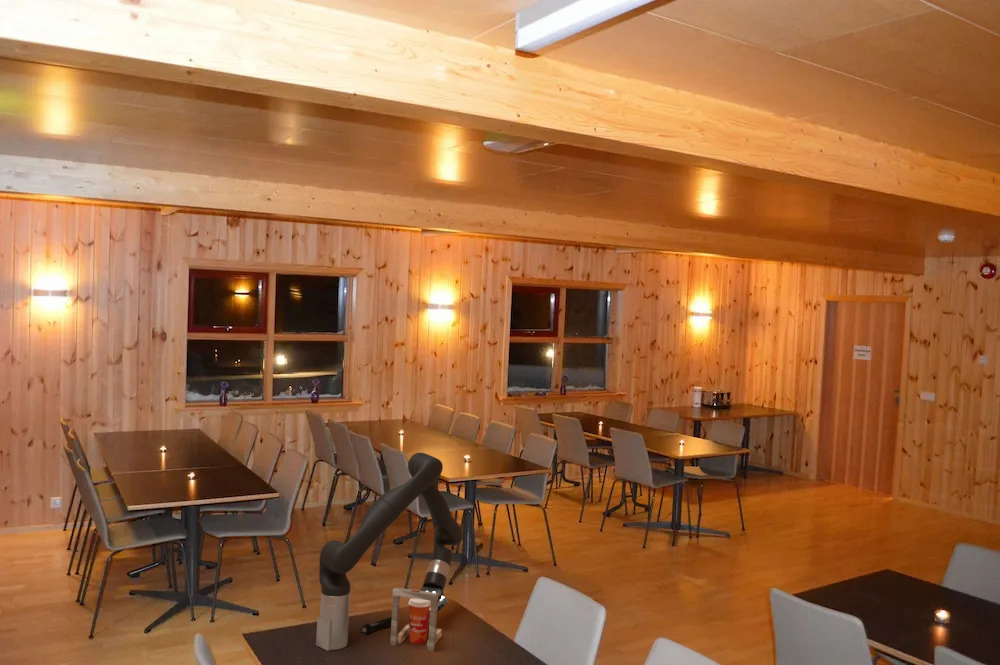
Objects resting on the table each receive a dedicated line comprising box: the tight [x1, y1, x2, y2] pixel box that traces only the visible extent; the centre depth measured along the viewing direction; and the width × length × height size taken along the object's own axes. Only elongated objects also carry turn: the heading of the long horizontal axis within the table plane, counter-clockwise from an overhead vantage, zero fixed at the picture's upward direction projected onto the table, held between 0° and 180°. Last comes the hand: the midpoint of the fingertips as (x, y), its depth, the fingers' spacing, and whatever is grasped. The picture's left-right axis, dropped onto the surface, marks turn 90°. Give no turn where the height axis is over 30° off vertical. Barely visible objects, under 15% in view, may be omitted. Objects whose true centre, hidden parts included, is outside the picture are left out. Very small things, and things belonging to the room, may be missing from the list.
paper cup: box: [407, 598, 431, 645], centre depth 263 cm, size 8×8×14 cm
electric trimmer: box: [359, 616, 392, 636], centre depth 272 cm, size 4×16×3 cm, turn 138°
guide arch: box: [389, 587, 443, 652], centre depth 263 cm, size 13×15×19 cm
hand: (423, 622), depth 268 cm, fingers closed
